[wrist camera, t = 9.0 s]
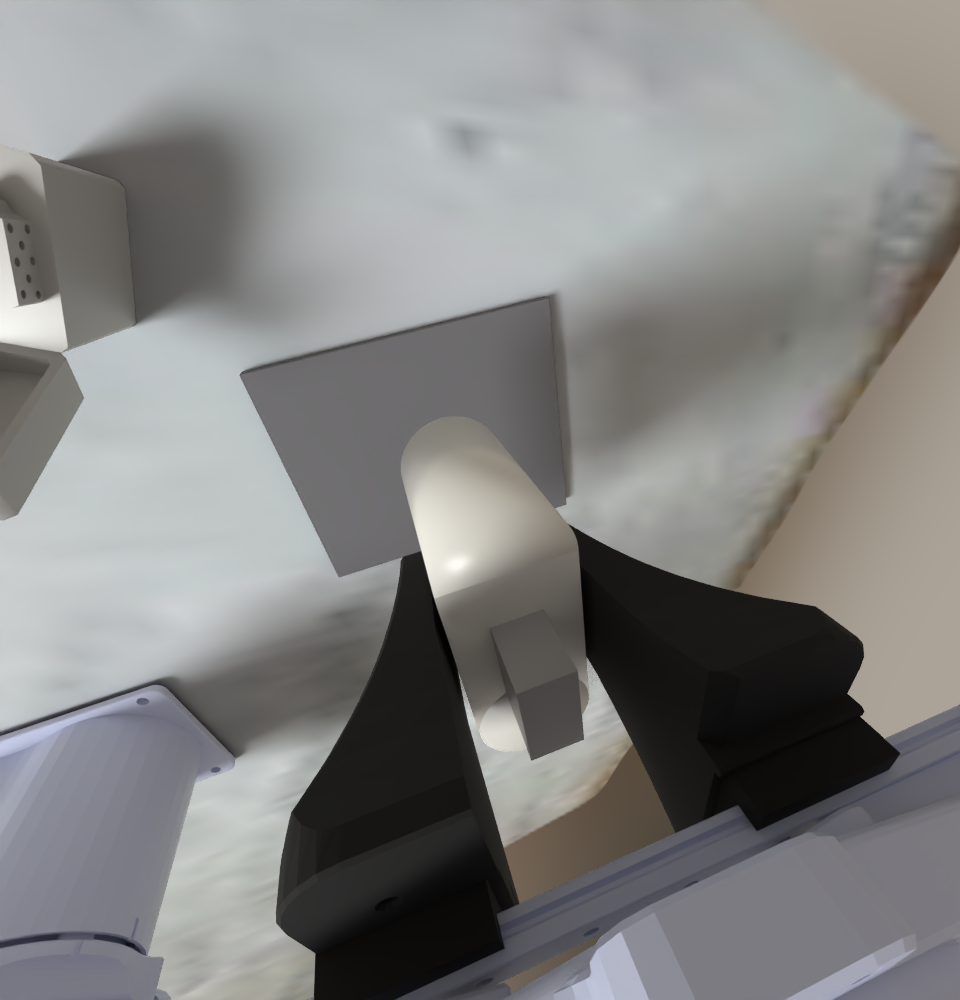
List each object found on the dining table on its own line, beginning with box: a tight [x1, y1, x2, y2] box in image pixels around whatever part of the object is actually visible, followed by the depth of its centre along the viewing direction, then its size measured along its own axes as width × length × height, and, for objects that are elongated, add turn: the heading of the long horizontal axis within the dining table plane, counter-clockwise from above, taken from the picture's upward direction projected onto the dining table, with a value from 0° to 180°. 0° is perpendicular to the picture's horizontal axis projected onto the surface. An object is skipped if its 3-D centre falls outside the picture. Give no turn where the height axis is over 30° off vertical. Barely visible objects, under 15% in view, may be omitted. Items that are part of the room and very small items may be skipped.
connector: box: [401, 416, 589, 761], centre depth 11 cm, size 3×8×7 cm, turn 10°
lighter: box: [0, 144, 136, 520], centre depth 10 cm, size 7×2×8 cm, turn 164°
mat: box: [240, 297, 566, 577], centre depth 19 cm, size 12×10×1 cm
